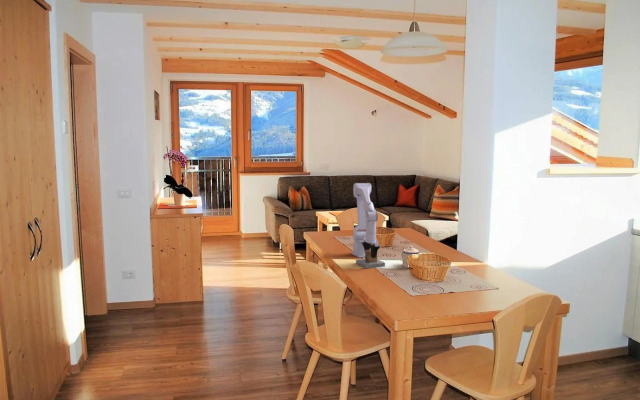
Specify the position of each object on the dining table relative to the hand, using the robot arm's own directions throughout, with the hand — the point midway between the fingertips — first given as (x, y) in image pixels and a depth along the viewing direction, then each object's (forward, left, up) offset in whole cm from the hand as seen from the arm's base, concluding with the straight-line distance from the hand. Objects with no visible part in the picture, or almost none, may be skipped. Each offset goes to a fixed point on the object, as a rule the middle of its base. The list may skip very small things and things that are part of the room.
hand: (370, 256), depth 277 cm
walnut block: (0, 0, -3) cm, 3 cm away
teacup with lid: (+10, +19, -5) cm, 22 cm away
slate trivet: (0, 0, -5) cm, 5 cm away
